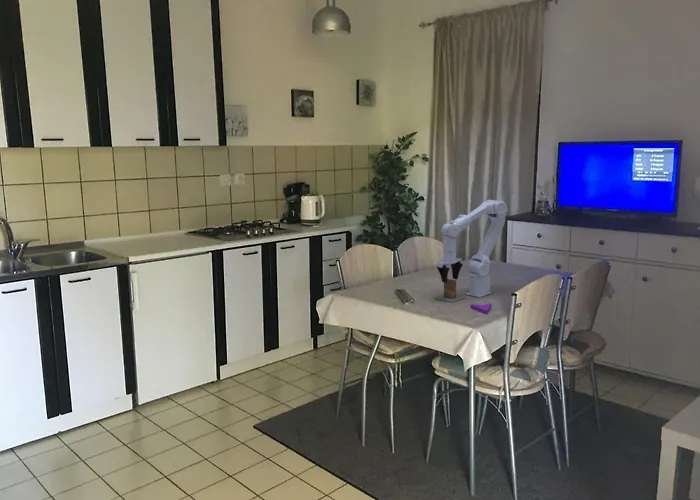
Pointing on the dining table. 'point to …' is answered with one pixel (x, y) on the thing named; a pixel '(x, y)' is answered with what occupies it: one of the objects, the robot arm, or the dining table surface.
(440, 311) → the dining table surface
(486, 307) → the arrowhead
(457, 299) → the rubber mat
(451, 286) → the tall wooden plank
